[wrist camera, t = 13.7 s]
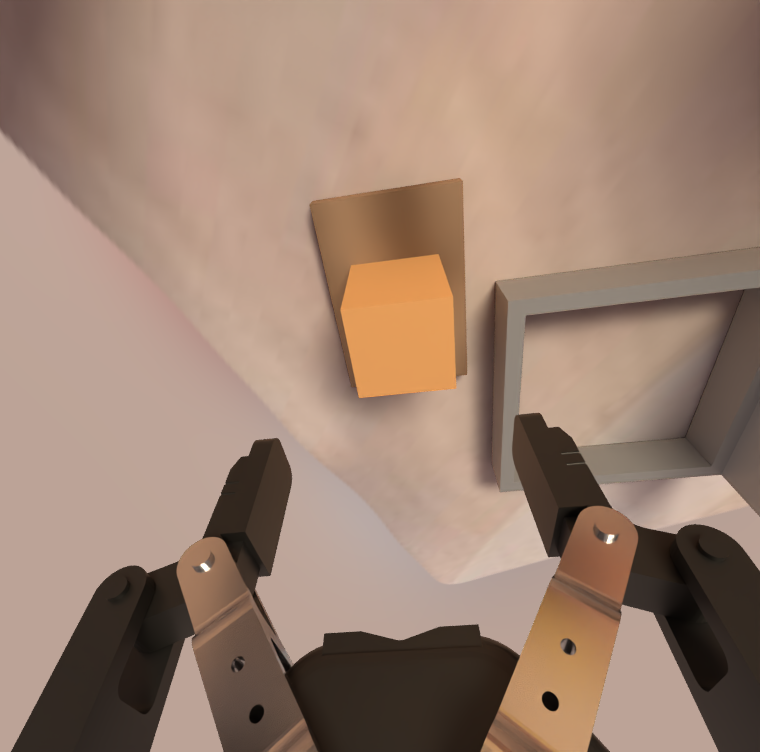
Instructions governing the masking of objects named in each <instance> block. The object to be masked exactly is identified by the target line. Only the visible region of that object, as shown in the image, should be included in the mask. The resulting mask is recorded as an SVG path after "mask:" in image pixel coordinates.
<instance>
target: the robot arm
mask: <svg viewBox="0 0 760 752" xmlns="http://www.w3.org/2000/svg"><path fill="white" fill-rule="evenodd" d="M512 456H513V461H514V465H515V468H516V471H517V473H518V476H519V479H520V481H521V484H522V487H523V490H524V492H525V495H526V498H527V501H528V503H529V506H530V509H531V511H532V514H533V517H534V520H535V522H536V525H537V528H538V531H539V533H540V536H541V539H542V541H543V544H544V547H545V550H546V552H547V555H548V557H558V556H560V558H561V560H560V563H559V565H558V568H557V570H556V573H555V575H554V576H553V577H552V579H551V581H550V583H549V585H548V588H547V590H546V593H545V595H544V598H543V600H542V603H541V605H540V608H539V610H538V613H537V615H536V618H535V620H534V623H533V625H532V628H531V630H530V633H529V636H528V638H527V640H526V643H525V645H524V648H523V650H522V653H521V655H518V654H517V653H516V652H514V651H513V650H511V649H510V648H508V647H507V646H505V645H503V644H501V643H499V642H497V641H495V640H492V639H490V638H486V637H482V636H480V631H479V626H478V625H462V626H445V627H438V628H435V629H432V630H429V631H427V632H424V633H421V634H419V635H416V636H413V637H410V638H408V639H405V640H394V639H390V638H386V637H382V636H378V635H374V634H370V633H366V632H361V631H360V632H344V633H326V634H324V642H323V646H321V647H318V648H316V649H315V650H313V651H311V652H309V653H308V654H306V655H305V656H303V657H302V658H301V659H299V660H298V661H297V662H296V663H295V664H294V665H293V663H292V661H291V659H290V657H289V655H288V654H287V652H286V650H285V648H284V646H283V645H282V643H281V641H280V639H279V637H278V635H277V633H276V631H275V629H274V627H273V625H272V622H271V620H270V618H269V616H268V614H267V612H266V610H265V608H264V606H263V604H262V602H261V600H260V598H259V596H258V594H257V592H256V590H255V587H256V583H257V579H258V577H261V576H270V575H271V571H272V567H273V562H274V558H275V554H276V549H277V545H278V541H279V536H280V532H281V527H282V523H283V519H284V515H285V510H286V506H287V502H288V497H289V493H290V489H291V484H292V473H291V468H290V465H289V463H288V460H287V458H286V455H285V453H284V450H283V448H282V445H281V442H280V440H279V439H278V438H274V439H264V440H256V441H255V442H254V443H253V446H252V448H251V451H250V454H249V456H245V457H241V458H240V459H239V460H238V461H237V462H236V464H235V465H234V466H233V467H232V468H231V470H230V472H229V475H228V477H227V480H226V485H224V487H223V490H222V492H221V496H220V497H219V499H218V502H217V505H216V507H215V509H214V512H213V514H212V517H211V519H210V522H209V524H208V527H207V529H206V531H205V534H204V536H203V538H202V539H201V540H199V541H197V542H196V543H194V544H193V545H191V546H190V547H189V548H188V549H187V550H186V551H185V552H184V554H183V555H182V556H181V558H180V560H179V561H178V562H176V563H173V564H170V565H168V566H165V567H163V568H160V569H158V570H155V571H152V572H150V573H146V571H145V570H144V569H143V568H141V567H139V566H127V567H124V568H122V569H120V570H118V571H116V572H114V573H113V574H111V575H110V576H109V577H108V578H106V579H105V580H104V581H103V583H102V584H101V585H100V586H99V587H98V588H97V590H96V592H95V593H94V595H93V597H92V599H91V601H90V603H89V604H88V606H87V608H86V610H85V612H84V614H83V616H82V618H81V620H80V622H79V623H78V625H77V627H76V629H75V631H74V633H73V635H72V637H71V639H70V641H69V643H68V645H67V646H66V648H65V650H64V652H63V654H62V656H61V658H60V660H59V662H58V663H57V665H56V667H55V669H54V671H53V673H52V675H51V677H50V679H49V681H48V682H47V684H46V686H45V688H44V690H43V692H42V694H41V696H40V698H39V700H38V701H37V704H36V705H35V707H34V709H33V711H32V713H31V715H30V717H29V719H28V720H27V722H26V724H25V726H24V728H23V730H22V732H21V734H20V736H19V738H18V739H17V742H16V743H15V745H14V747H13V749H12V751H11V752H150V749H151V746H152V743H153V740H154V736H155V733H156V730H157V727H158V724H159V721H160V717H161V714H162V711H163V707H164V705H165V701H166V698H167V695H168V692H169V688H170V685H171V682H172V679H173V676H174V672H175V669H176V666H177V663H178V660H179V656H180V653H181V650H182V647H183V643H184V640H185V638H187V637H190V636H192V635H194V634H195V636H194V637H193V638H192V647H193V651H194V654H195V657H196V661H197V664H198V667H199V671H200V674H201V677H202V681H203V684H204V687H205V691H206V693H207V697H208V700H209V704H210V707H211V710H212V714H213V717H214V721H215V724H216V727H217V731H218V734H219V737H220V741H221V744H222V747H223V750H224V752H610V751H609V750H608V749H607V748H606V747H605V746H604V745H603V744H602V743H601V741H600V740H598V738H597V737H596V736H595V735H594V734H593V733H592V731H593V727H594V723H595V719H596V715H597V711H598V707H599V703H600V699H601V695H602V691H603V687H604V683H605V679H606V675H607V671H608V667H609V664H610V660H611V656H612V652H613V648H614V644H615V640H616V636H617V632H618V628H619V624H620V619H621V606H622V605H627V606H630V607H634V608H638V609H641V610H645V611H649V612H653V613H654V615H655V617H656V619H657V621H658V623H659V626H660V628H661V630H662V632H663V634H664V636H665V638H666V641H667V643H668V645H669V647H670V649H671V651H672V653H673V655H674V657H675V660H676V661H677V664H678V666H679V668H680V670H681V672H682V675H683V676H684V679H685V681H686V683H687V685H688V687H689V689H690V692H691V694H692V696H693V698H694V700H695V702H696V704H697V706H698V708H699V711H700V713H701V715H702V717H703V719H704V721H705V723H706V725H707V728H708V730H709V732H710V734H711V736H712V738H713V740H714V742H715V745H716V747H717V749H718V751H719V752H760V571H759V570H758V568H757V567H756V566H755V564H754V563H753V562H752V560H751V559H750V557H749V556H748V555H747V553H746V552H745V551H744V550H743V548H742V547H741V546H740V545H739V544H738V543H737V542H736V541H735V540H734V539H732V538H731V537H730V536H728V535H727V534H725V533H723V532H721V531H719V530H717V529H715V528H712V527H709V526H705V525H696V524H694V525H688V526H685V527H683V528H681V529H680V530H679V531H678V533H677V534H671V533H667V532H661V531H657V530H652V529H647V528H643V527H640V526H637V525H635V524H632V522H631V521H630V520H629V519H628V518H627V517H626V516H624V515H623V514H621V513H620V512H618V511H616V510H614V509H613V508H612V507H611V506H610V504H609V502H608V501H607V499H606V497H605V495H604V494H603V492H602V490H601V488H600V487H599V485H598V483H597V481H596V480H595V478H594V476H593V474H592V472H591V471H590V469H589V467H588V465H587V464H586V463H585V460H584V458H583V457H582V455H581V453H579V450H578V448H577V446H576V444H575V442H574V441H573V439H572V437H570V436H569V435H568V434H567V433H565V432H564V431H563V430H562V429H561V428H559V427H553V428H548V427H547V425H546V423H545V421H544V419H543V417H542V415H541V414H540V413H531V414H521V415H516V416H515V418H514V429H513V441H512Z"/></svg>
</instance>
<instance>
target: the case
mask: <svg viewBox="0 0 760 752" xmlns="http://www.w3.org/2000/svg"><path fill="white" fill-rule="evenodd" d="M742 289H745V290H744V293H743V295H742V298H741V300H740V303H739V305H738V308H737V310H736V313H735V315H734V318H733V320H732V323H731V325H730V328H729V330H728V333H727V335H726V338H725V340H724V343H723V345H722V348H721V350H720V353H719V355H718V357H717V360H716V362H715V365H714V367H713V370H712V372H711V375H710V377H709V380H708V382H707V385H706V387H705V390H704V392H703V395H702V397H701V400H700V402H699V405H698V407H697V410H696V412H695V415H694V417H693V420H692V422H691V425H690V427H689V430H688V432H687V435H686V437H685V438H676V439H664V440H653V441H641V442H630V443H619V444H607V445H596V446H585V447H577V448H578V450H579V453H581V455H582V457H583V458H584V460H585V463H586V464H587V465H588V467H589V469H590V471H591V472H592V474H593V476H594V478H595V480H596V481H597V483H598V484H609V483H622V482H634V481H647V480H660V479H672V478H685V477H698V476H710V475H722V476H723V477H724V478H725V479H726V480H727V481H728V482H729V484H730V485H731V486H732V487H733V488H734V489H735V490H736V491H737V492H738V493H739V494H740V496H741V497H742V498H743V499H744V500H745V501H746V502H747V503H748V504H749V505H750V507H751V508H752V509H753V510H754V511H755V512H756V513H757V514H758V515H759V516H760V247H756V248H749V249H741V250H733V251H725V252H718V253H710V254H702V255H695V256H687V257H679V258H671V259H664V260H656V261H648V262H641V263H633V264H625V265H617V266H610V267H602V268H594V269H587V270H579V271H571V272H563V273H556V274H548V275H540V276H533V277H525V278H517V279H509V280H502V281H496V290H495V334H494V377H493V421H492V466H493V470H494V473H495V477H496V480H497V484H498V487H499V490H500V492H507V491H520V490H523V487H522V484H521V481H520V479H519V476H518V473H517V471H516V468H515V465H514V461H513V456H512V441H513V429H514V418H515V416H516V415H519V403H520V389H521V375H522V361H523V347H524V333H525V319H526V315H535V314H543V313H551V312H560V311H568V310H576V309H585V308H593V307H601V306H609V305H618V304H626V303H634V302H643V301H651V300H659V299H668V298H676V297H684V296H692V295H701V294H709V293H717V292H726V291H734V290H742Z"/></svg>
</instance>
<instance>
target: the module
mask: <svg viewBox="0 0 760 752" xmlns="http://www.w3.org/2000/svg"><path fill="white" fill-rule="evenodd" d="M340 311H341V315H342V320H343V325H344V330H345V334H346V339H347V344H348V348H349V353H350V358H351V363H352V367H353V372H354V377H355V382H356V386H357V391H358V396H359V398H365V397H375V396H385V395H395V394H405V393H415V392H425V391H436V390H446V389H456V367H455V337H454V308H453V295H452V292H451V289H450V286H449V283H448V280H447V277H446V274H445V272H444V269H443V266H442V263H441V260H440V257H439V254H435V255H428V256H420V257H412V258H405V259H397V260H389V261H382V262H374V263H366V264H359V265H351V267H350V272H349V276H348V280H347V284H346V288H345V293H344V297H343V301H342V305H341V310H340Z"/></svg>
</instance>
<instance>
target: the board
mask: <svg viewBox="0 0 760 752" xmlns="http://www.w3.org/2000/svg"><path fill="white" fill-rule="evenodd" d="M310 209H311V213H312V218H313V222H314V226H315V231H316V235H317V239H318V244H319V248H320V252H321V257H322V261H323V265H324V270H325V274H326V278H327V283H328V287H329V291H330V296H331V300H332V305H333V309H334V313H335V318H336V322H337V326H338V331H339V335H340V339H341V344H342V348H343V352H344V357H345V361H346V365H347V370H348V374H349V378H350V383H351V387H357V386H356V382H355V377H354V372H353V367H352V363H351V358H350V353H349V348H348V344H347V339H346V334H345V330H344V325H343V320H342V315H341V311H340V310H341V305H342V301H343V297H344V293H345V288H346V284H347V280H348V276H349V272H350V267H351V265H359V264H366V263H374V262H382V261H389V260H397V259H405V258H412V257H420V256H428V255H435V254H439V257H440V260H441V263H442V266H443V269H444V272H445V274H446V277H447V280H448V283H449V286H450V289H451V292H452V295H453V308H454V337H455V367H456V376H460V375H467V346H466V303H465V260H464V216H463V181H462V180H461V179H460V178H458V179H451V180H445V181H438V182H432V183H426V184H419V185H413V186H406V187H400V188H394V189H387V190H381V191H374V192H368V193H361V194H355V195H349V196H342V197H336V198H329V199H323V200H316V201H312V202H311V204H310Z"/></svg>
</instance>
